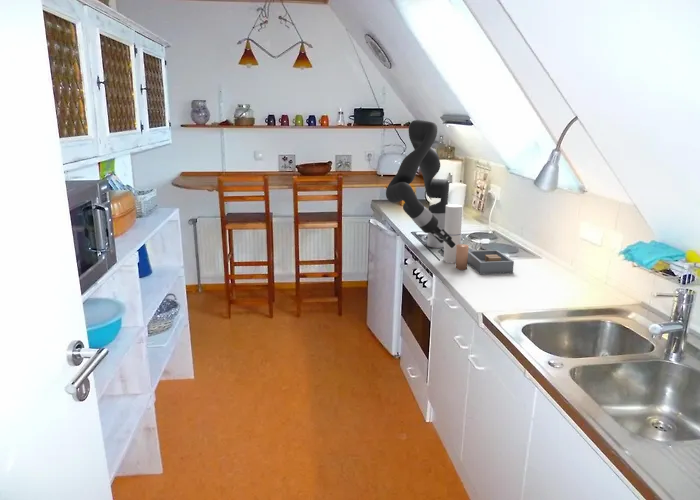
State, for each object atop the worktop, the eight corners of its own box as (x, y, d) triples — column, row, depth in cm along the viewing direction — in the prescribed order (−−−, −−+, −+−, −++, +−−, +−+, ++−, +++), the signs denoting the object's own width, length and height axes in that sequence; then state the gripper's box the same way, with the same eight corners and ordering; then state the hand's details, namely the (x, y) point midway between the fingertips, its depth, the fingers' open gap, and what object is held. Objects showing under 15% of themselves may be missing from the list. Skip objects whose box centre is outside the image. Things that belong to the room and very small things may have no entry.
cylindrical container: (455, 263, 218) (457, 207, 211) (440, 261, 222) (442, 206, 215) (462, 259, 223) (465, 205, 217) (447, 257, 227) (450, 203, 221)
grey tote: (466, 261, 220) (466, 250, 219) (496, 260, 221) (497, 249, 220) (479, 274, 203) (480, 262, 202) (512, 273, 204) (513, 261, 203)
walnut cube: (484, 266, 210) (485, 254, 209) (495, 265, 211) (496, 254, 209) (488, 269, 206) (489, 258, 204) (500, 269, 206) (501, 257, 205)
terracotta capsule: (453, 266, 213) (455, 244, 211) (465, 266, 214) (466, 244, 211) (457, 270, 209) (458, 247, 206) (468, 269, 209) (470, 246, 206)
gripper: (439, 215, 193) (463, 240, 200) (422, 209, 206) (445, 233, 213) (426, 229, 193) (451, 254, 199) (410, 222, 206) (433, 246, 212)
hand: (448, 243), depth 206 cm, fingers open, 8 cm apart
